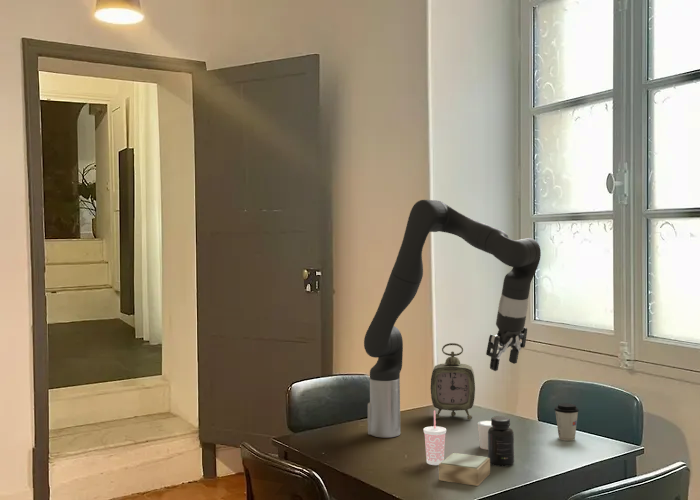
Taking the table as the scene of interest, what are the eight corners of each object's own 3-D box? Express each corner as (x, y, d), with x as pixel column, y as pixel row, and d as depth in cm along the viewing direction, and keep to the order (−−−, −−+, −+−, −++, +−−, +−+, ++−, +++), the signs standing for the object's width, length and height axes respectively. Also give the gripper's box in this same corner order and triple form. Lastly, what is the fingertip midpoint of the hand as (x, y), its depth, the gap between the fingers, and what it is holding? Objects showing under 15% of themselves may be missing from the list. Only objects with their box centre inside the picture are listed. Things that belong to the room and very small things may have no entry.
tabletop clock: (430, 420, 239) (429, 344, 239) (432, 413, 248) (431, 341, 248) (475, 421, 237) (474, 345, 237) (475, 415, 246) (474, 341, 246)
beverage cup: (419, 463, 194) (419, 411, 194) (430, 457, 199) (429, 406, 199) (440, 467, 190) (439, 414, 190) (450, 461, 195) (450, 409, 195)
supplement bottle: (485, 459, 196) (484, 415, 196) (509, 458, 197) (509, 414, 197) (492, 467, 190) (491, 421, 189) (517, 466, 190) (517, 420, 190)
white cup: (502, 451, 204) (501, 426, 204) (477, 450, 205) (477, 425, 205) (502, 444, 211) (501, 420, 211) (478, 443, 212) (477, 419, 212)
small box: (439, 480, 180) (438, 462, 180) (452, 468, 189) (452, 452, 189) (477, 485, 176) (477, 468, 176) (490, 473, 184) (489, 457, 184)
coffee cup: (553, 440, 214) (553, 406, 213) (556, 434, 220) (555, 401, 220) (578, 442, 211) (577, 408, 211) (580, 436, 217) (579, 403, 217)
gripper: (516, 302, 202) (507, 355, 206) (484, 311, 192) (476, 366, 197) (539, 311, 196) (529, 365, 201) (507, 321, 187) (498, 377, 192)
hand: (503, 366), depth 199 cm, fingers open, 8 cm apart
